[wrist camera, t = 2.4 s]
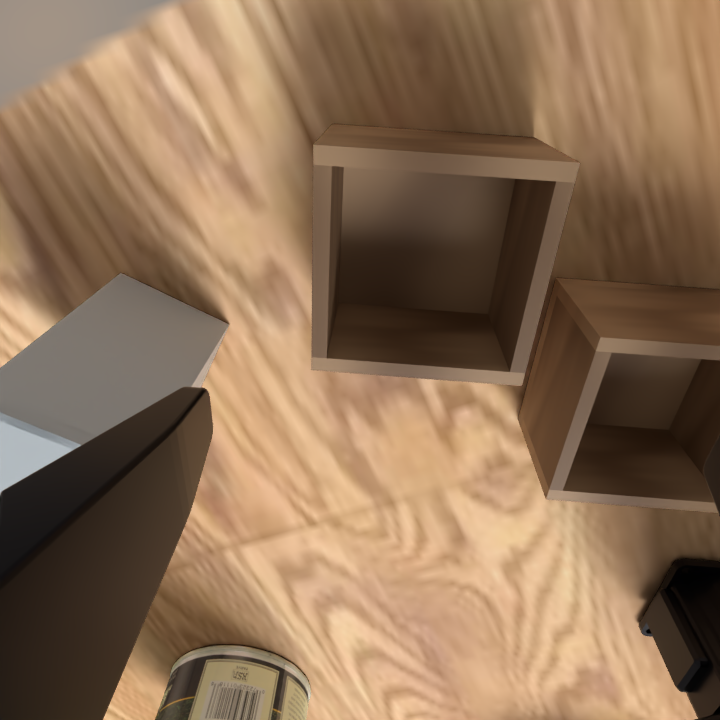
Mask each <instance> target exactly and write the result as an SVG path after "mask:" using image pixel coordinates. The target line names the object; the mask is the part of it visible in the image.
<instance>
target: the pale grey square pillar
mask: <svg viewBox="0 0 720 720" xmlns="http://www.w3.org/2000/svg"><path fill="white" fill-rule="evenodd" d="M228 326H229V324H227V323H225V322H223V321H221V320H219V319H217V318H215V317H213V316H210V315H208V314H206V313H204V312H202V311H200V310H198V309H196V308H194V307H192V306H189V305H187V304H185V303H183V302H181V301H179V300H177V299H175V298H173V297H171V296H169V295H166V294H164V293H162V292H160V291H158V290H156V289H154V288H152V287H150V286H148V285H145V284H143V283H141V282H139V281H137V280H135V279H133V278H131V277H129V276H127V275H125V274H122V273H120V274H119V275H117V276H116V277H115V278H114V279H112V280H111V281H110V282H109V283H107V284H106V285H105V286H103V287H102V288H101V289H100V290H98V291H97V292H96V293H95V294H93V295H92V296H91V297H90V298H88V299H87V300H86V301H84V302H83V303H82V304H81V305H79V306H78V307H77V308H76V309H74V310H73V311H72V312H71V313H69V314H68V315H67V316H66V317H64V318H63V319H62V320H60V321H59V322H58V323H57V324H55V325H54V326H53V327H52V328H50V329H49V330H48V331H47V332H45V333H44V334H43V335H41V336H40V337H39V338H38V339H36V340H35V341H34V342H33V343H31V344H30V345H29V346H28V347H26V348H25V349H24V350H23V351H21V352H20V353H19V354H17V355H16V356H15V357H14V358H12V359H11V360H10V361H9V362H7V363H6V364H5V365H4V366H2V367H1V368H0V495H1V492H2V491H3V490H4V489H6V488H8V487H10V486H11V485H13V484H15V483H17V482H18V481H20V480H22V479H23V478H25V477H27V476H29V475H30V474H32V473H34V472H36V471H37V470H39V469H41V468H43V467H44V466H46V465H48V464H50V463H51V462H53V461H55V460H57V459H58V458H60V457H62V456H64V455H65V454H67V453H69V452H70V451H72V450H74V449H76V448H77V447H79V446H81V445H83V444H84V443H86V442H88V441H90V440H91V439H93V438H95V437H97V436H98V435H100V434H102V433H103V432H105V431H107V430H109V429H110V428H112V427H114V426H116V425H117V424H119V423H121V422H123V421H124V420H126V419H128V418H130V417H131V416H133V415H135V414H136V413H138V412H140V411H142V410H143V409H145V408H147V407H149V406H150V405H152V404H154V403H156V402H157V401H159V400H161V399H163V398H164V397H166V396H168V395H169V394H171V393H173V392H175V391H176V390H178V389H180V388H182V387H199V388H201V386H202V384H203V382H204V380H205V377H206V375H207V373H208V371H209V368H210V366H211V364H212V362H213V360H214V357H215V355H216V353H217V351H218V349H219V346H220V344H221V342H222V340H223V337H224V335H225V333H226V331H227V329H228Z"/></svg>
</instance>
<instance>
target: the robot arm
mask: <svg viewBox="0 0 720 720" xmlns="http://www.w3.org/2000/svg"><path fill="white" fill-rule="evenodd" d="M212 434H213V422H212V413H211V405H210V396H209V393H208V391H207V390H206V389H205V388H199V387H182V388H180V389H178V390H176V391H175V392H173V393H171V394H169V395H168V396H166V397H164V398H163V399H161V400H159V401H157V402H156V403H154V404H152V405H150V406H149V407H147V408H145V409H143V410H142V411H140V412H138V413H136V414H135V415H133V416H131V417H130V418H128V419H126V420H124V421H123V422H121V423H119V424H117V425H116V426H114V427H112V428H110V429H109V430H107V431H105V432H103V433H102V434H100V435H98V436H97V437H95V438H93V439H91V440H90V441H88V442H86V443H84V444H83V445H81V446H79V447H77V448H76V449H74V450H72V451H70V452H69V453H67V454H65V455H64V456H62V457H60V458H58V459H57V460H55V461H53V462H51V463H50V464H48V465H46V466H44V467H43V468H41V469H39V470H37V471H36V472H34V473H32V474H30V475H29V476H27V477H25V478H23V479H22V480H20V481H18V482H17V483H15V484H13V485H11V486H10V487H8V488H6V489H4V490H3V491H2V492H1V495H0V720H103V718H104V716H105V713H106V711H107V709H108V706H109V704H110V702H111V699H112V697H113V694H114V692H115V690H116V687H117V685H118V683H119V680H120V678H121V676H122V673H123V671H124V669H125V666H126V664H127V661H128V659H129V657H130V654H131V652H132V650H133V647H134V645H135V643H136V640H137V638H138V635H139V633H140V631H141V628H142V626H143V624H144V621H145V619H146V617H147V614H148V612H149V609H150V607H151V605H152V602H153V600H154V598H155V595H156V593H157V591H158V588H159V586H160V583H161V581H162V579H163V576H164V574H165V572H166V569H167V567H168V565H169V562H170V560H171V557H172V555H173V553H174V550H175V548H176V546H177V543H178V541H179V539H180V536H181V534H182V531H183V529H184V527H185V524H186V522H187V519H188V517H189V514H190V511H191V508H192V505H193V502H194V498H195V495H196V491H197V488H198V484H199V481H200V477H201V474H202V470H203V467H204V463H205V460H206V456H207V453H208V450H209V446H210V443H211V439H212ZM703 472H704V477H705V480H706V483H707V485H708V488H709V490H710V493H711V495H712V498H713V500H714V503H715V505H716V508H717V511H718V513H719V516H720V434H719V436H718V438H717V440H716V442H715V444H714V446H713V447H712V449H711V451H710V453H709V455H708V457H707V459H706V460H705V463H704V467H703ZM639 628H640V630H641V633H642V634H643V635H645V636H652V637H653V638H654V640H655V642H656V645H657V647H658V649H659V651H660V653H661V656H662V658H663V660H664V662H665V664H666V667H667V669H668V671H669V673H670V676H671V678H672V680H673V682H674V684H675V686H676V687H677V689H678V690H679V691H681V692H686V693H687V696H688V698H689V700H690V702H691V704H692V706H693V708H694V711H695V713H696V715H697V717H698V719H695V720H720V562H718V561H705V560H693V559H680V560H677V561H676V562H674V563H673V565H672V567H671V568H670V570H669V572H668V574H667V575H666V577H665V579H664V581H663V582H662V584H661V586H660V588H659V590H658V591H657V593H656V595H655V597H654V598H653V600H652V602H651V604H650V606H649V607H648V609H647V611H646V613H645V614H644V616H643V618H642V620H641V621H640V623H639Z"/></svg>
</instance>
